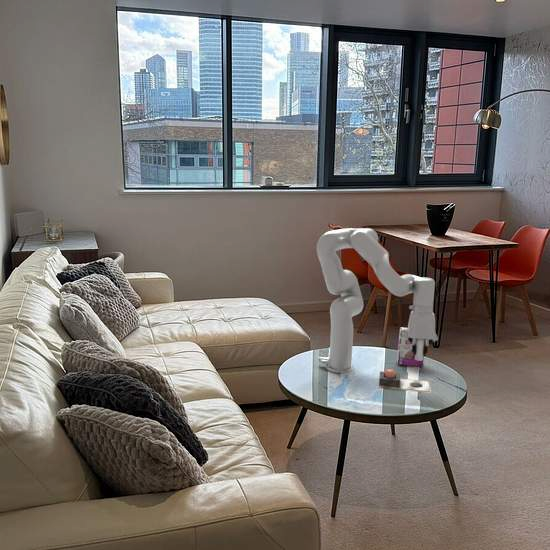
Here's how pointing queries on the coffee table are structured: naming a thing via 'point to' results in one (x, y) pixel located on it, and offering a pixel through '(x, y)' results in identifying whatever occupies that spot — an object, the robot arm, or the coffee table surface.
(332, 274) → the robot arm
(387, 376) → the button
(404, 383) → the drawing board
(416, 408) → the coffee table surface
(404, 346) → the candy bar box
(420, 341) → the cylinder
